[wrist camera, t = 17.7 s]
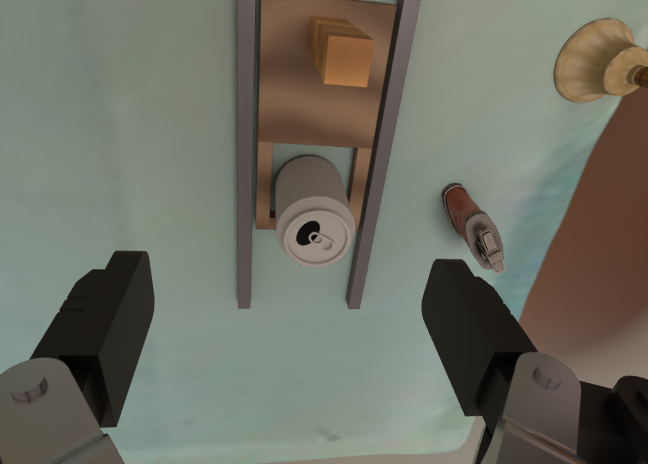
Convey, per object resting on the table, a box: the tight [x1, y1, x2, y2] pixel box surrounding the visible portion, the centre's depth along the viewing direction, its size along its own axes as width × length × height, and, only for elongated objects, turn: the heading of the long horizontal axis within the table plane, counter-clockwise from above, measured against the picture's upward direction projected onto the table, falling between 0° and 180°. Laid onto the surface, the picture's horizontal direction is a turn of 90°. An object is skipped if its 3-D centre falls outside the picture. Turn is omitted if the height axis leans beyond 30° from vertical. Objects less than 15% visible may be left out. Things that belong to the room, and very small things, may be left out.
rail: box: [238, 0, 421, 309], centre depth 46 cm, size 38×16×2 cm, turn 174°
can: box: [275, 156, 356, 267], centre depth 43 cm, size 8×8×12 cm
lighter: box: [442, 183, 505, 273], centre depth 48 cm, size 8×3×10 cm, turn 28°
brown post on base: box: [256, 0, 397, 232], centre depth 39 cm, size 24×12×14 cm, turn 174°
